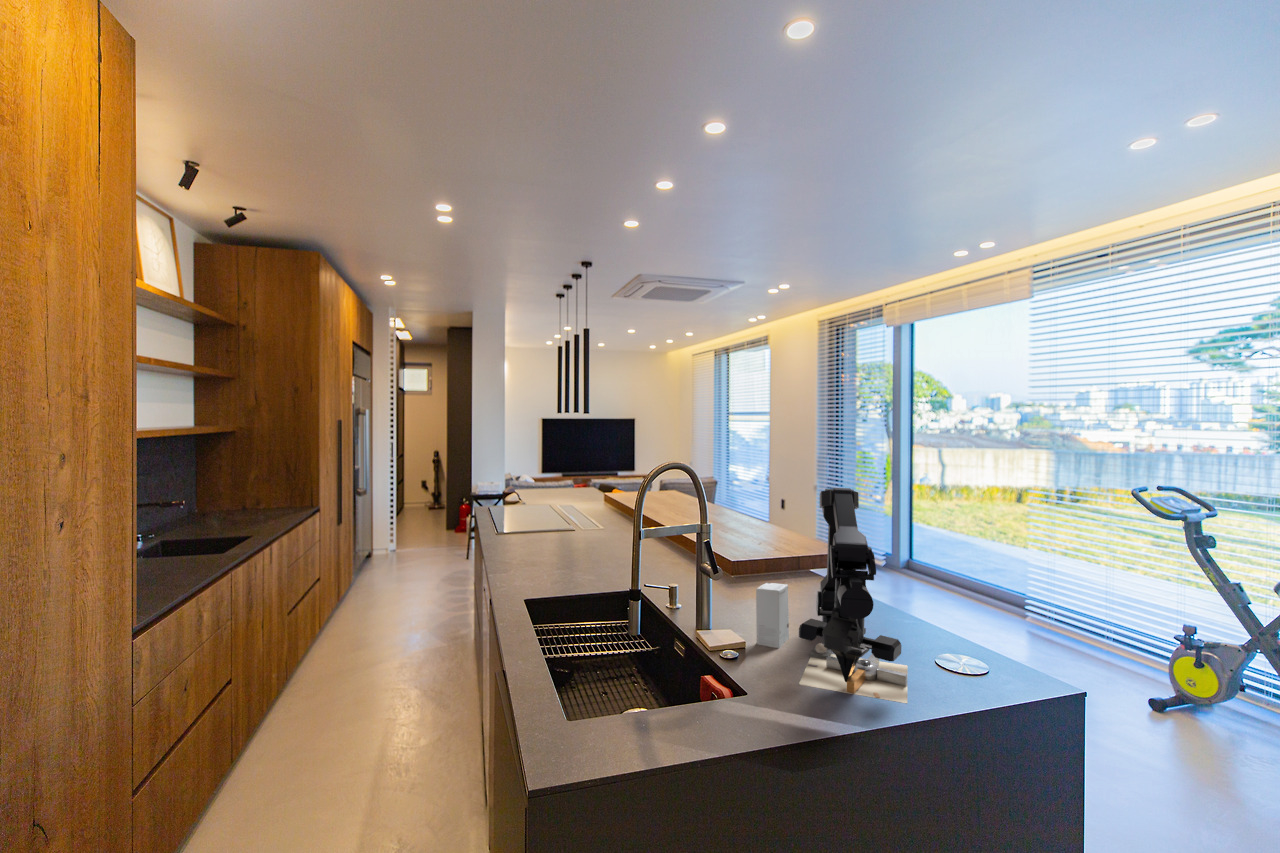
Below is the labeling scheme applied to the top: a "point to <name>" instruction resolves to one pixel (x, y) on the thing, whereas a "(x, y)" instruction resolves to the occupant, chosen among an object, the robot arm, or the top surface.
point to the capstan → (868, 673)
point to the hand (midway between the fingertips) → (846, 681)
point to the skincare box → (772, 614)
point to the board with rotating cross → (834, 679)
